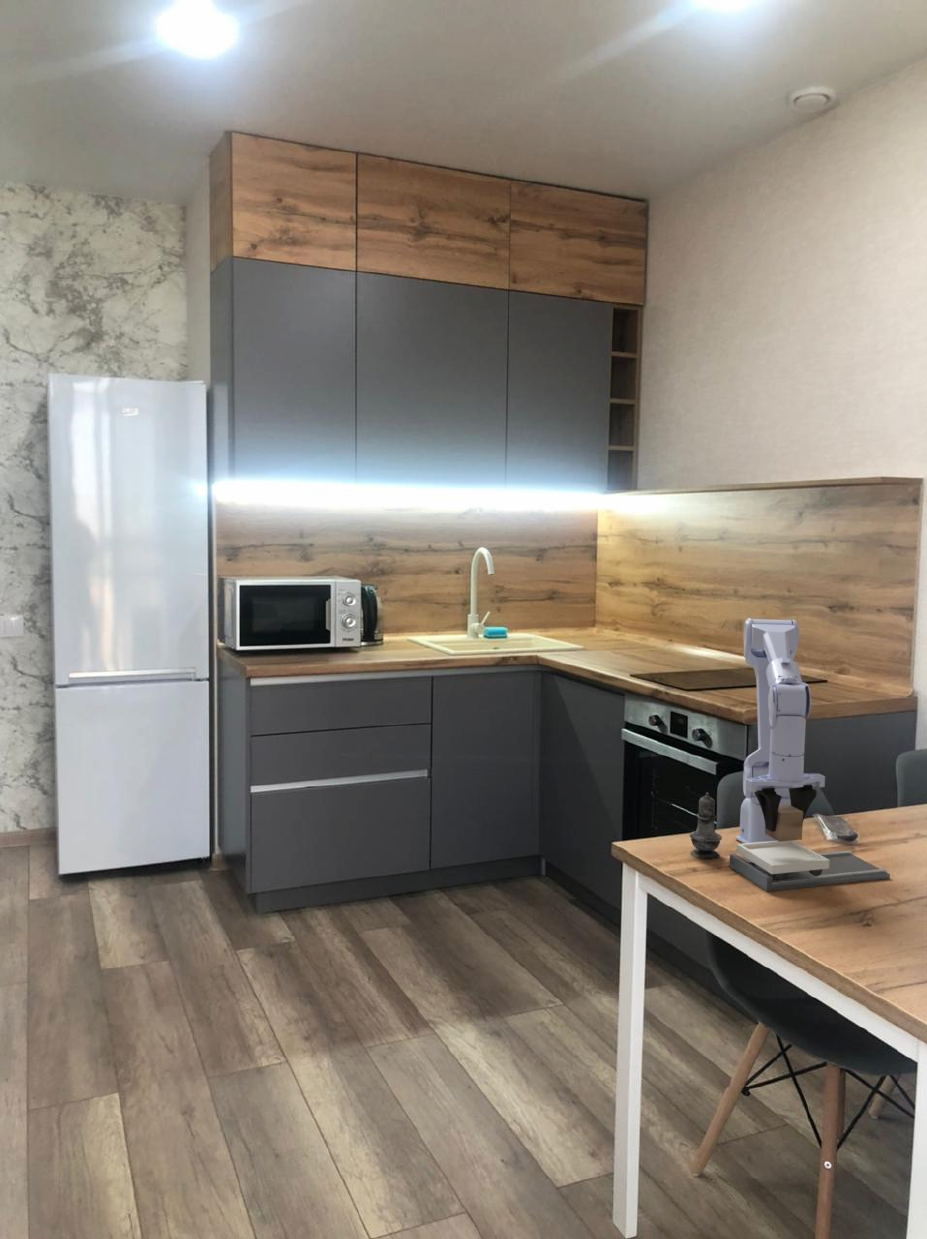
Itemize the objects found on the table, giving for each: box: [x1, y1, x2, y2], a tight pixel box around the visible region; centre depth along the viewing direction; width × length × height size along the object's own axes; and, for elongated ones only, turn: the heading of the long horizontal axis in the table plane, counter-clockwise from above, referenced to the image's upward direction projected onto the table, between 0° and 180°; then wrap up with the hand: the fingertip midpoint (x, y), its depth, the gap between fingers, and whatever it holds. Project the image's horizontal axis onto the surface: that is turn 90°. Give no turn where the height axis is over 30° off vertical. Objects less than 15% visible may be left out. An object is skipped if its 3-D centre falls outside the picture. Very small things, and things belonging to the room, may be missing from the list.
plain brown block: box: [765, 804, 804, 842], centre depth 176 cm, size 4×4×5 cm
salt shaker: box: [689, 791, 723, 860], centre depth 186 cm, size 6×6×12 cm
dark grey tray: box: [728, 850, 891, 892], centre depth 178 cm, size 12×24×2 cm, turn 106°
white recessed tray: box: [736, 840, 829, 880], centre depth 176 cm, size 11×11×3 cm
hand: (783, 828), depth 176 cm, fingers closed on plain brown block, 4 cm apart
